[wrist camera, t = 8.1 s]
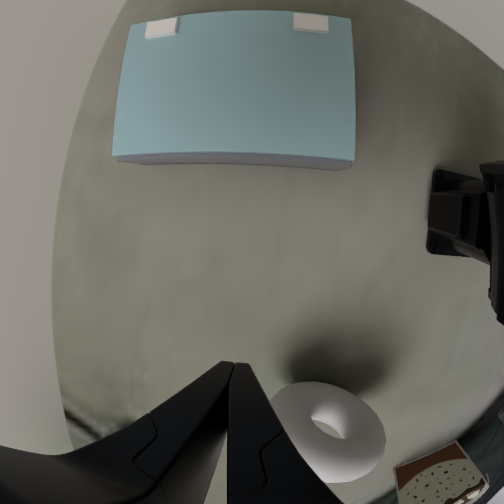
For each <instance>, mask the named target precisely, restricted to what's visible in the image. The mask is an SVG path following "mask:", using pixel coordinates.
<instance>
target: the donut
mask: <svg viewBox="0 0 504 504" xmlns="http://www.w3.org/2000/svg"><path fill="white" fill-rule="evenodd" d="M269 402H270V404H271V406H272V407H273V409H274V411H275V413H276V415H277V416H278V418H279V420H280V422H281V424H282V425H283V427H284V429H285V432H287V434H288V436H289V437H290V439H291V441H292V442H293V444H294V445H295V447H296V449H297V450H298V452H299V453H300V455H301V456H302V457H303V458H304V460H305V461H306V462H307V463H308V465H309V466H310V467H311V468H312V469H313V471H314V472H315V473H316V474H317V475H318V476H319V477H320V479H321V480H322V481H323V482H327V483H337V482H348V481H352V480H355V479H357V478H359V477H362V476H364V475H366V474H367V473H369V472H370V471H371V470H372V469H373V468H374V467H375V466H376V465H377V464H378V462H379V461H380V460H381V458H382V457H383V453H384V448H385V444H386V437H385V432H384V428H383V424H382V423H381V421H380V419H379V418H378V416H377V414H376V413H375V412H374V411H373V410H372V409H371V408H370V407H369V406H368V405H367V404H366V403H365V402H364V401H362V400H361V399H360V398H358V397H357V396H356V395H354V394H352V393H350V392H348V391H346V390H344V389H342V388H339V387H337V386H334V385H331V384H328V383H321V382H316V381H312V382H298V383H295V384H292V385H289V386H287V387H285V388H283V389H281V390H280V391H279V392H278V393H277V394H276V395H275V396H274V397H273V398H272V399H271V400H270V401H269ZM312 420H318V421H321V422H324V423H326V424H328V425H330V426H331V427H333V428H334V429H335V430H336V431H338V433H339V434H340V435H341V436H342V438H343V439H339V438H335V437H332V436H330V435H328V434H327V433H325V432H323V431H322V430H321V429H320V428H318V427H317V426H316V425H315V424H314V422H313V421H312Z"/></svg>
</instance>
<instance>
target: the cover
mask: <svg viewBox="0 0 504 504" xmlns="http://www.w3.org/2000/svg"><path fill="white" fill-rule="evenodd" d="M355 132H356V101H355V69H354V51H353V38H352V27H351V19H349V18H343V17H337V16H330V15H323V14H315V13H305V12H293V11H273V10H239V11H219V12H207V13H197V14H189V15H182V16H175V17H169V18H163V19H157V20H152V21H148V22H143V23H138V24H134V25H131V27H130V31H129V35H128V40H127V44H126V49H125V54H124V59H123V65H122V70H121V76H120V83H119V90H118V97H117V105H116V114H115V124H114V135H113V149H112V156H127V155H142V154H161V153H204V152H215V153H258V154H278V155H293V156H306V157H318V158H328V159H337V160H346V161H354V160H355Z"/></svg>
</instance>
